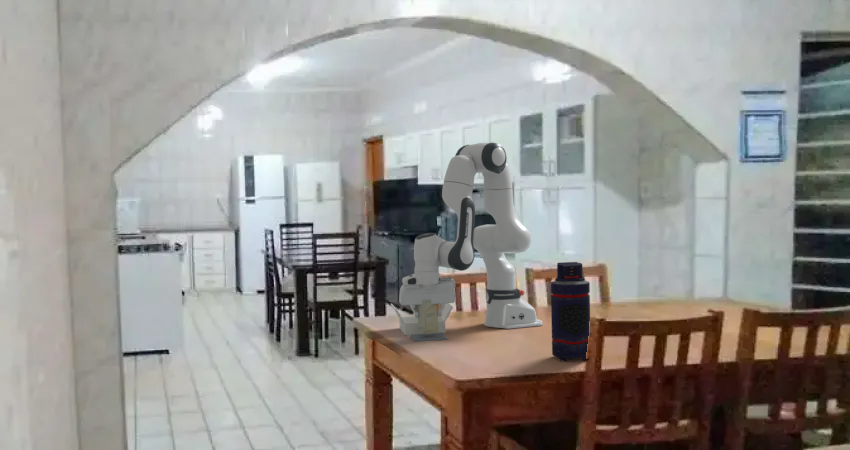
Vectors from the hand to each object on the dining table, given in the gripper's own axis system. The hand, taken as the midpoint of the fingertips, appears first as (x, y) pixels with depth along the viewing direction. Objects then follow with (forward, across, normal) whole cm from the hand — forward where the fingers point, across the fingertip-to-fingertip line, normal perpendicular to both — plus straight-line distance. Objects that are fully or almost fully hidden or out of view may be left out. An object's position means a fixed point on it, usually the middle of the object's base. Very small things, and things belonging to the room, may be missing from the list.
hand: (427, 316), depth 289 cm
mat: (+8, 0, 0) cm, 8 cm away
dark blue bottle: (+8, -38, +44) cm, 59 cm away
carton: (+8, 0, -15) cm, 17 cm away
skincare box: (+6, 0, 0) cm, 6 cm away
